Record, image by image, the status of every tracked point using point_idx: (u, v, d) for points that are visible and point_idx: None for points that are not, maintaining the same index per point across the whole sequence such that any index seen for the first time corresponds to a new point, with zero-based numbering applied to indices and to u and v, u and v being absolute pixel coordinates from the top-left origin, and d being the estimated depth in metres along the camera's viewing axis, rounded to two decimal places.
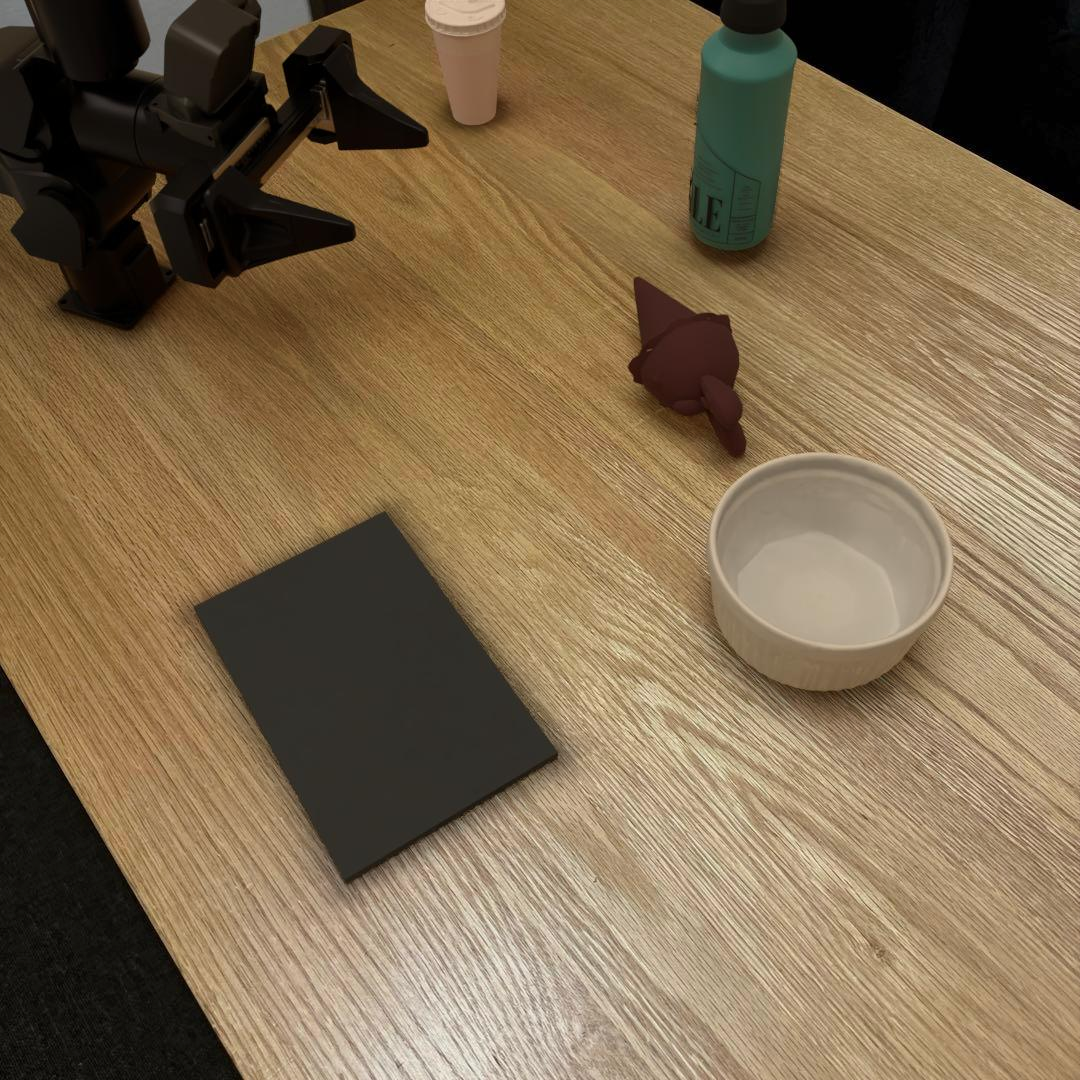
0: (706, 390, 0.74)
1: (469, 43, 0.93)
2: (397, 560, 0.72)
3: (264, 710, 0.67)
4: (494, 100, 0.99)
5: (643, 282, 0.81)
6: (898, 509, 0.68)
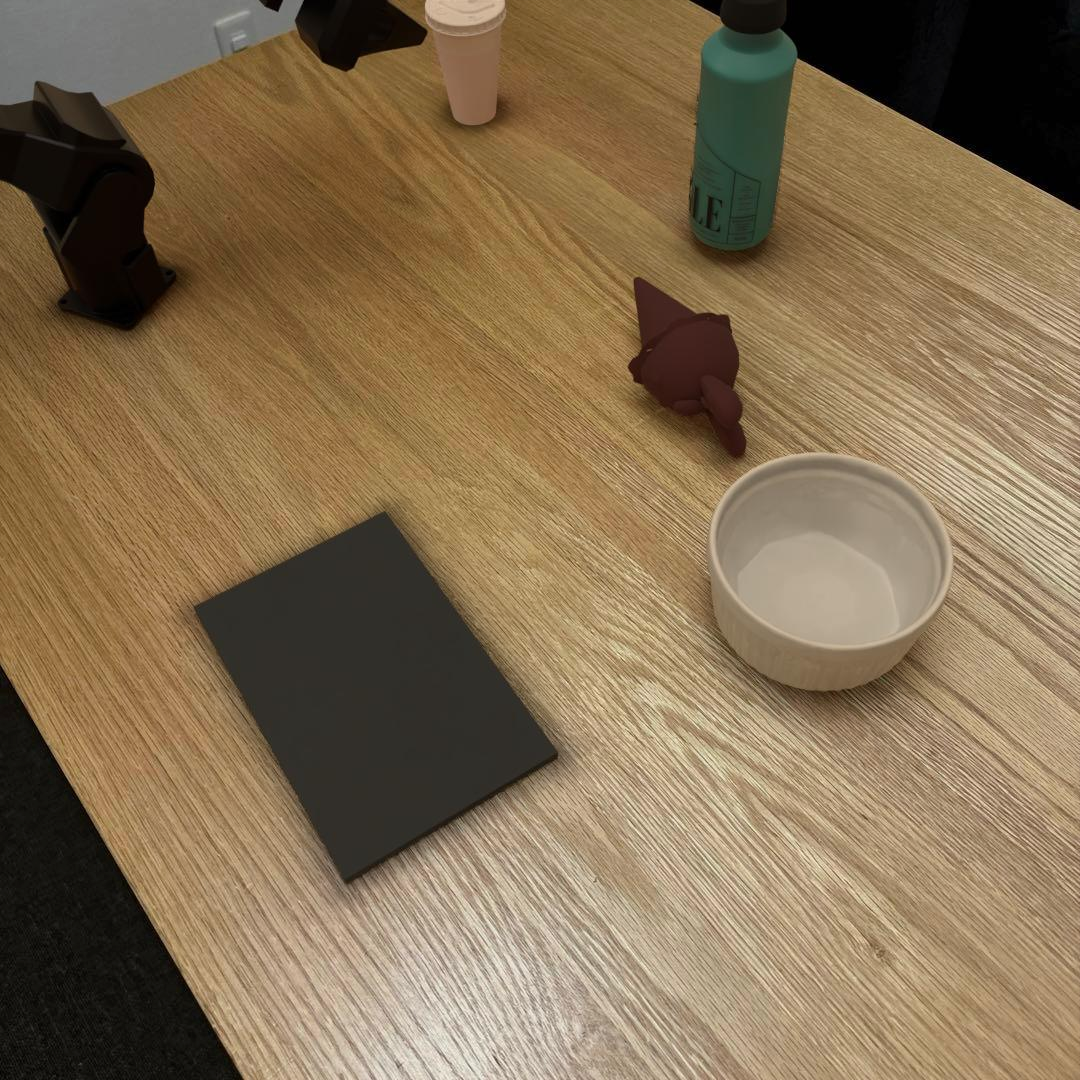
0: (706, 390, 0.74)
1: (469, 43, 0.93)
2: (397, 560, 0.72)
3: (264, 710, 0.67)
4: (494, 100, 0.99)
5: (643, 282, 0.81)
6: (898, 509, 0.68)
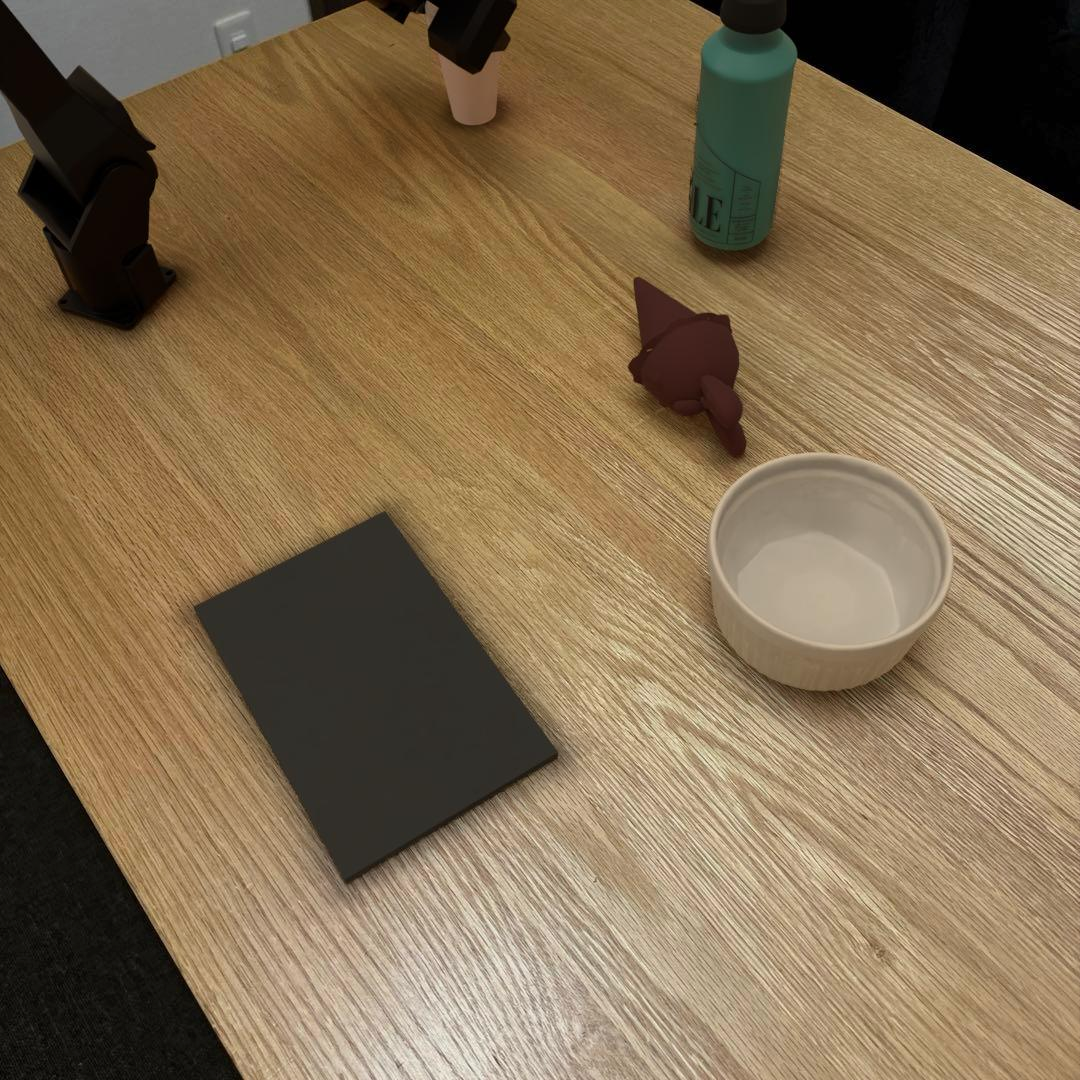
0: (706, 390, 0.74)
1: None
2: (397, 560, 0.72)
3: (264, 710, 0.67)
4: (494, 100, 0.99)
5: (643, 282, 0.81)
6: (898, 509, 0.68)
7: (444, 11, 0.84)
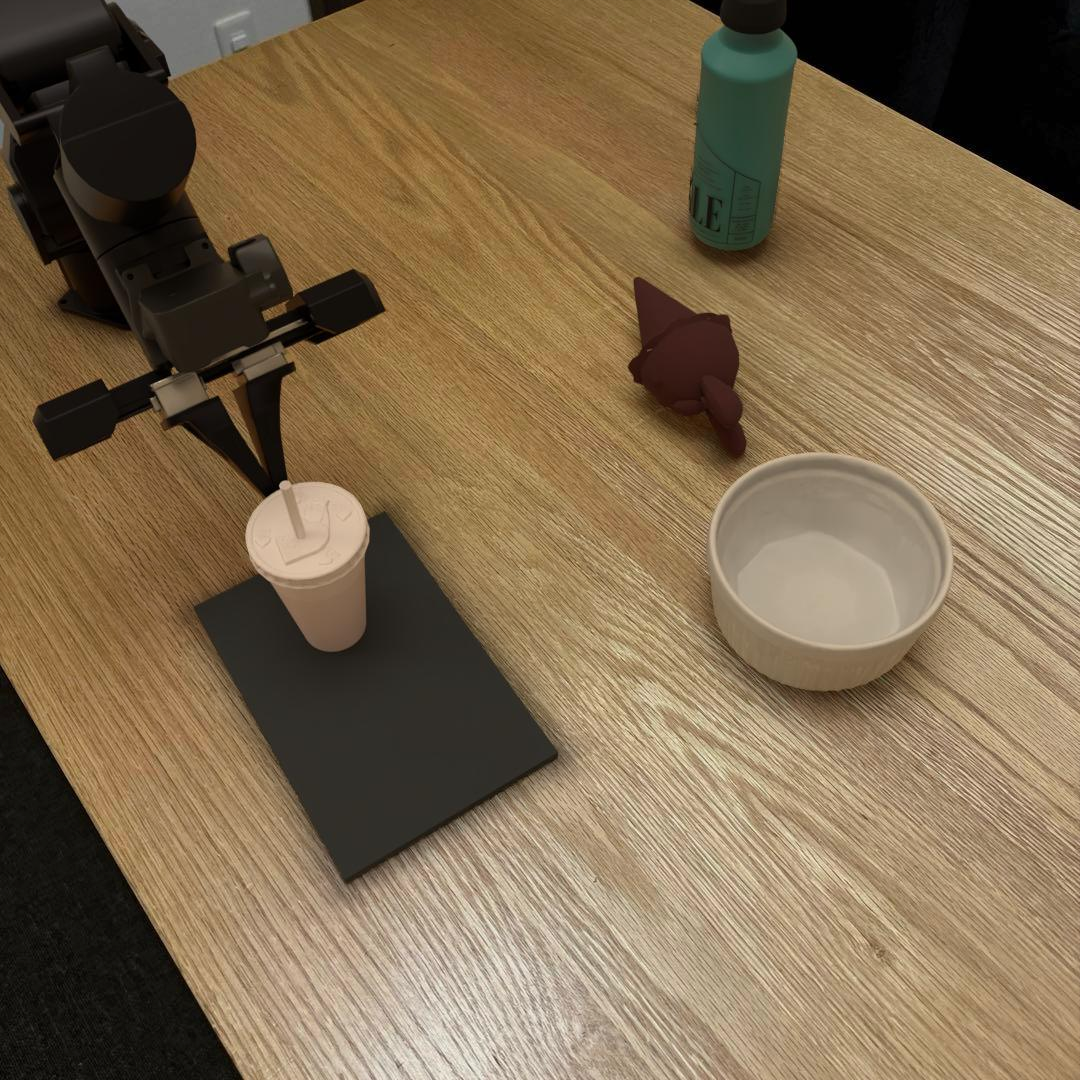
0: (706, 390, 0.74)
1: None
2: (397, 560, 0.72)
3: (264, 710, 0.67)
4: (307, 635, 0.68)
5: (643, 282, 0.81)
6: (898, 509, 0.68)
7: None
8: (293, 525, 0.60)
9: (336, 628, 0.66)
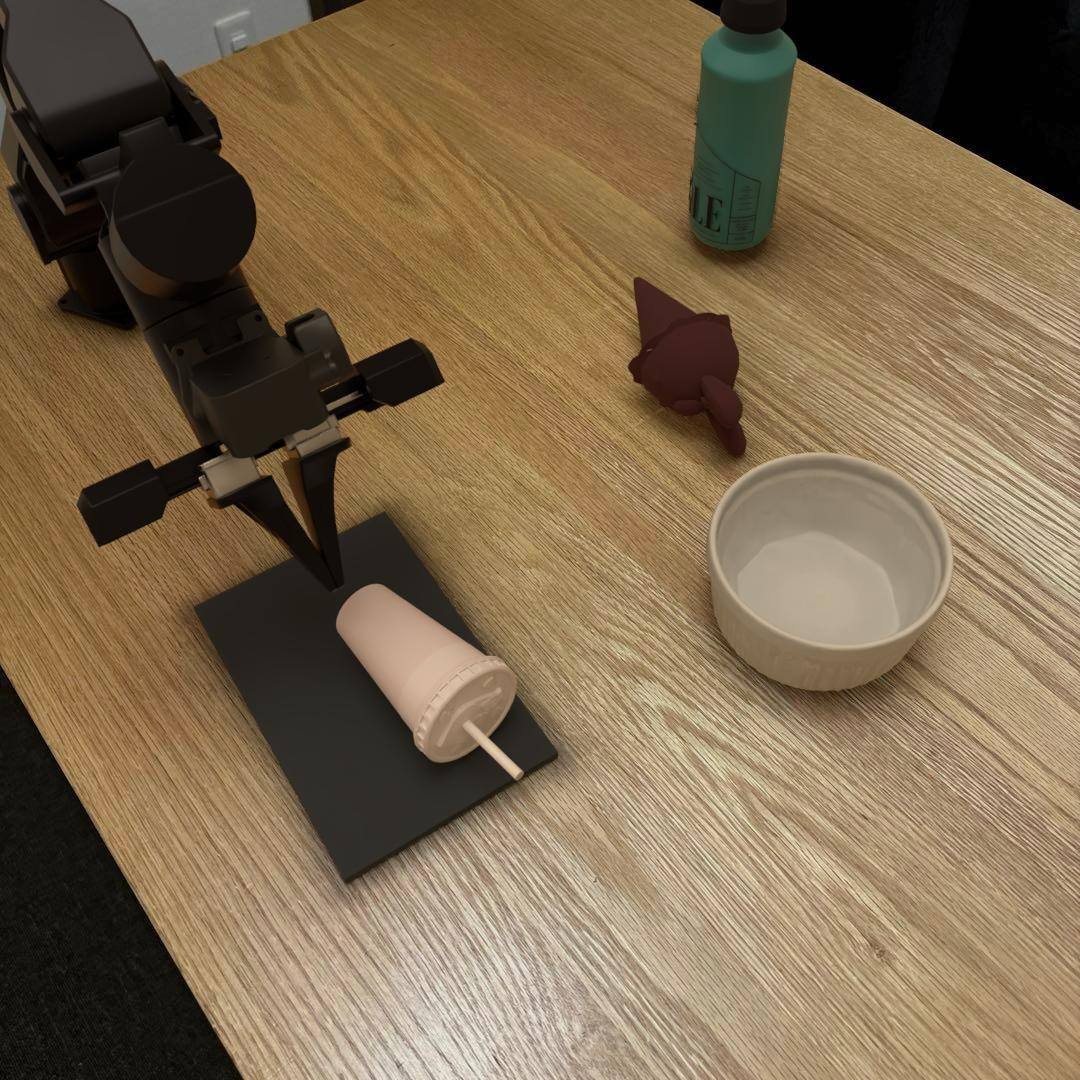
0: (706, 390, 0.74)
1: (429, 680, 0.61)
2: (397, 560, 0.72)
3: (264, 710, 0.67)
4: (350, 644, 0.65)
5: (643, 282, 0.81)
6: (898, 509, 0.68)
7: (134, 465, 0.59)
8: (476, 741, 0.61)
9: None
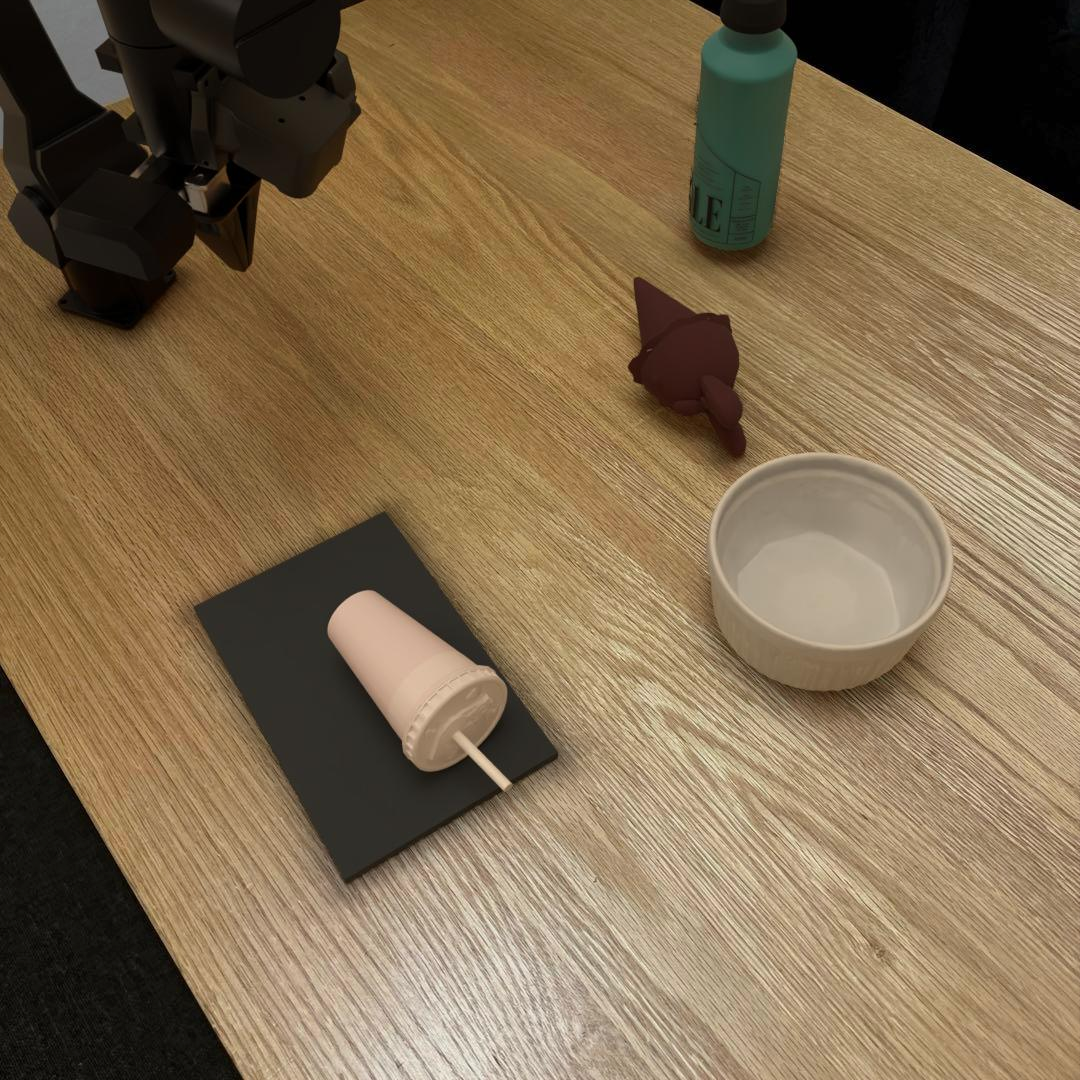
0: (706, 390, 0.74)
1: (411, 699, 0.61)
2: (397, 560, 0.72)
3: (264, 710, 0.67)
4: (342, 656, 0.65)
5: (643, 282, 0.81)
6: (898, 509, 0.68)
7: (119, 183, 0.59)
8: (466, 752, 0.61)
9: None
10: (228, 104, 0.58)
